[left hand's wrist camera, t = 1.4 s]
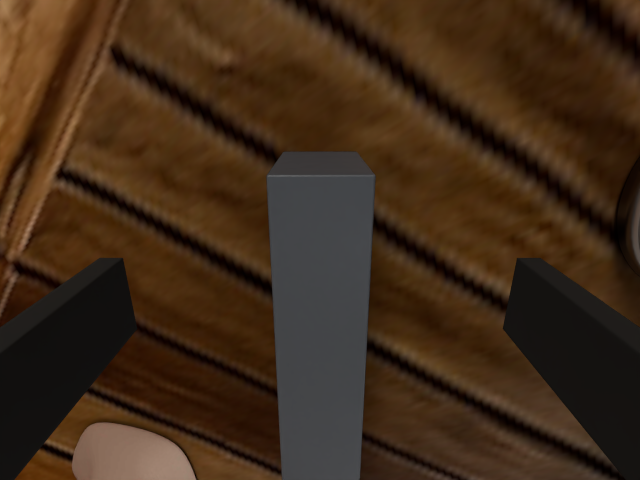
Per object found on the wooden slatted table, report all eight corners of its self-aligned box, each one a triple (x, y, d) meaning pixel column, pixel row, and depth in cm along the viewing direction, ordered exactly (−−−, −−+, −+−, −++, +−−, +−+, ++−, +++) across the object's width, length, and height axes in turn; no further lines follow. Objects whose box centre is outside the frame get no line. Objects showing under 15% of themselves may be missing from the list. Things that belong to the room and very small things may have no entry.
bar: (282, 151, 24) (265, 175, 16) (357, 151, 24) (376, 174, 16) (292, 420, 32) (284, 523, 25) (348, 420, 33) (357, 522, 25)
